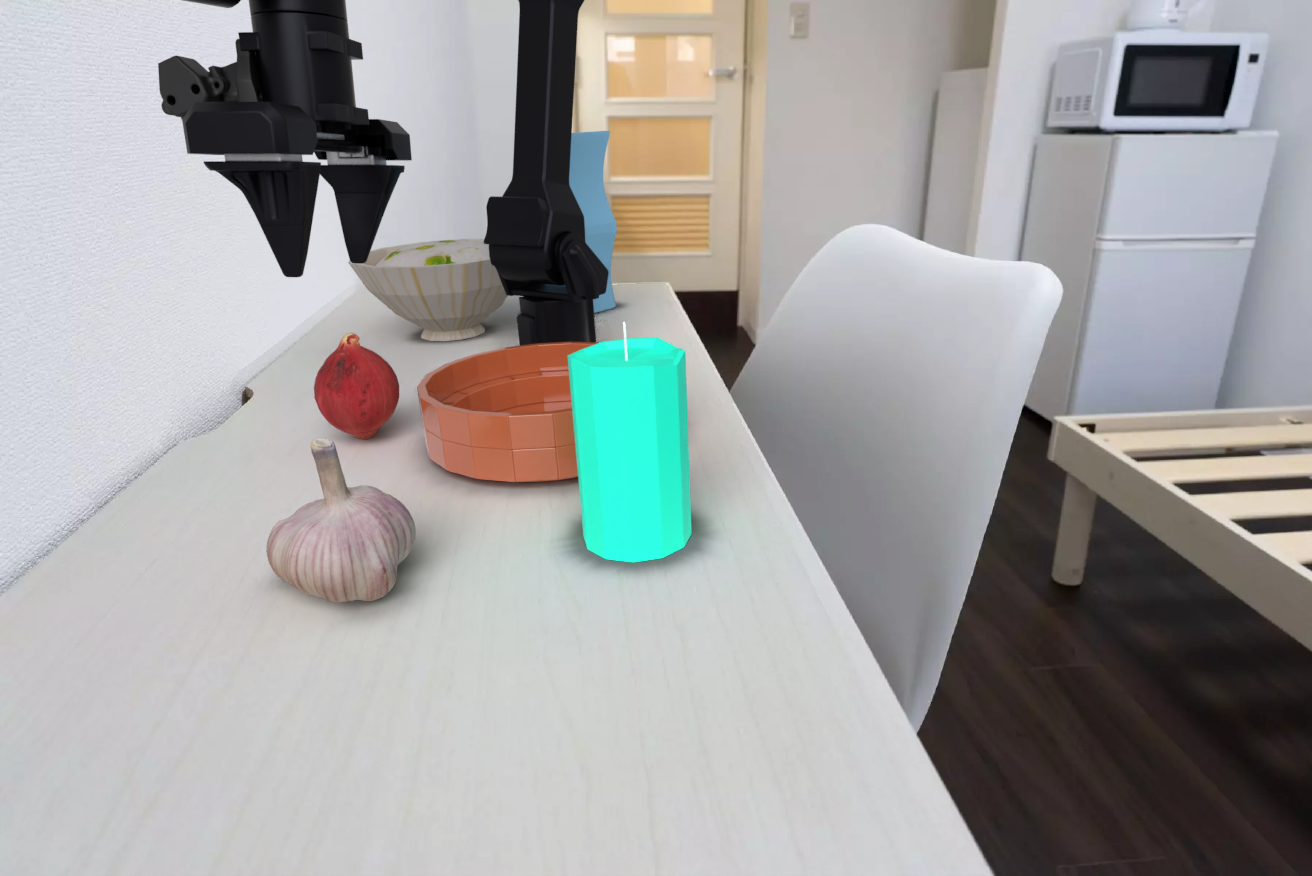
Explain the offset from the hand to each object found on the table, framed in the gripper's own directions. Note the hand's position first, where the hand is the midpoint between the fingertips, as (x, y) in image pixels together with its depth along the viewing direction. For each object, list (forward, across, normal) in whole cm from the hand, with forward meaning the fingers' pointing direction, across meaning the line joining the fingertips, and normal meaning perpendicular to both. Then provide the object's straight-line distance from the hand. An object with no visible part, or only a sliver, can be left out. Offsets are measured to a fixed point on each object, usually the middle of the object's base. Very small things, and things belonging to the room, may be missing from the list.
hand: (328, 269), depth 58 cm
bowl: (+10, -33, -3) cm, 35 cm away
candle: (+13, +14, +23) cm, 30 cm away
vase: (+9, -44, +8) cm, 45 cm away
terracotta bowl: (+12, -1, +15) cm, 19 cm away
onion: (+13, -1, +1) cm, 13 cm away
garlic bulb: (+14, +19, +9) cm, 25 cm away
